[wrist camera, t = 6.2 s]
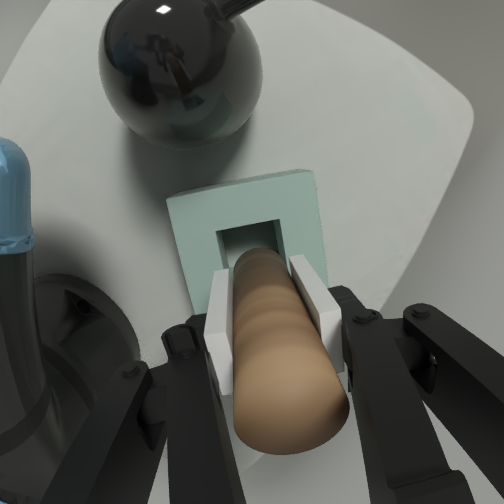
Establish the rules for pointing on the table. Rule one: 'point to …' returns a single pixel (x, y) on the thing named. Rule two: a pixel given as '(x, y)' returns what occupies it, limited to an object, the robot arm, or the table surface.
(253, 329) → the peg
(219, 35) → the pump dispenser
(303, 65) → the table surface
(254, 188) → the socket block
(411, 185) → the table surface
